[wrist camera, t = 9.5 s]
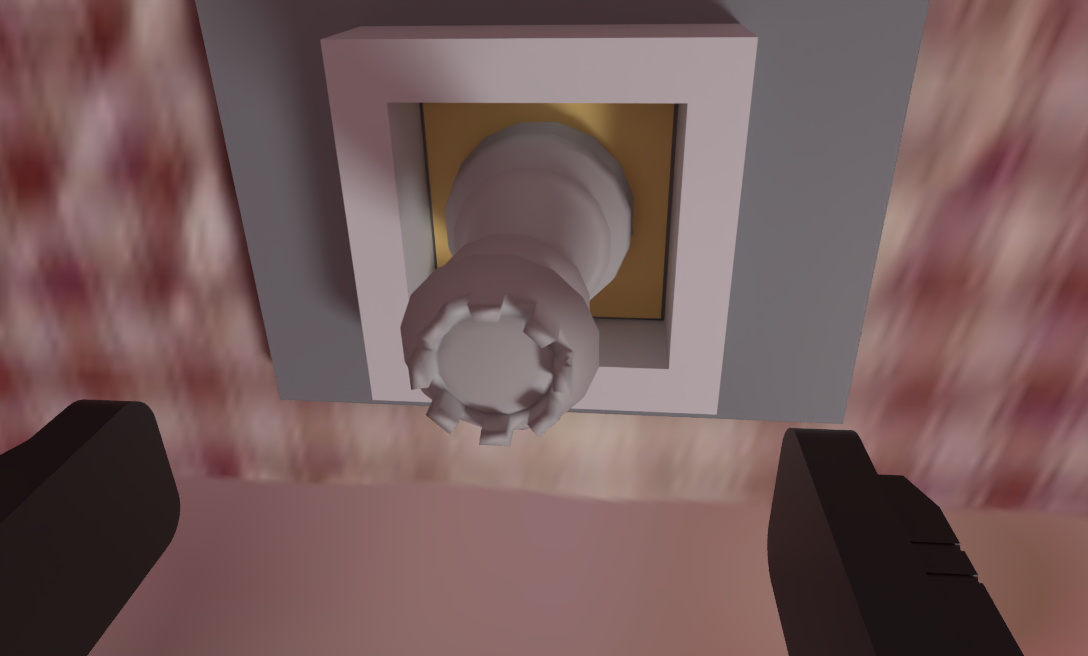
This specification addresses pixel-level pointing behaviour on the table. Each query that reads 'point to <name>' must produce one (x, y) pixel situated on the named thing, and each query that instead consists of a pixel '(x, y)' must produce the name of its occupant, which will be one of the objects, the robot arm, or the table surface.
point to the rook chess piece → (519, 281)
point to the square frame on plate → (624, 131)
